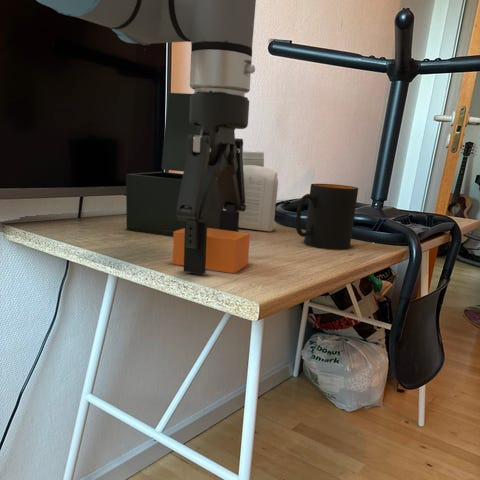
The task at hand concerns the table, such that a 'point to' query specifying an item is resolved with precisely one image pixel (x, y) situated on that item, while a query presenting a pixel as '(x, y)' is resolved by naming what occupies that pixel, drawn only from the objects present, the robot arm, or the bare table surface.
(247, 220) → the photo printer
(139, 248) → the table surface
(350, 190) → the mug
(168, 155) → the bin lid
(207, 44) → the robot arm
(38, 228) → the table surface
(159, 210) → the bin
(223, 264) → the block
